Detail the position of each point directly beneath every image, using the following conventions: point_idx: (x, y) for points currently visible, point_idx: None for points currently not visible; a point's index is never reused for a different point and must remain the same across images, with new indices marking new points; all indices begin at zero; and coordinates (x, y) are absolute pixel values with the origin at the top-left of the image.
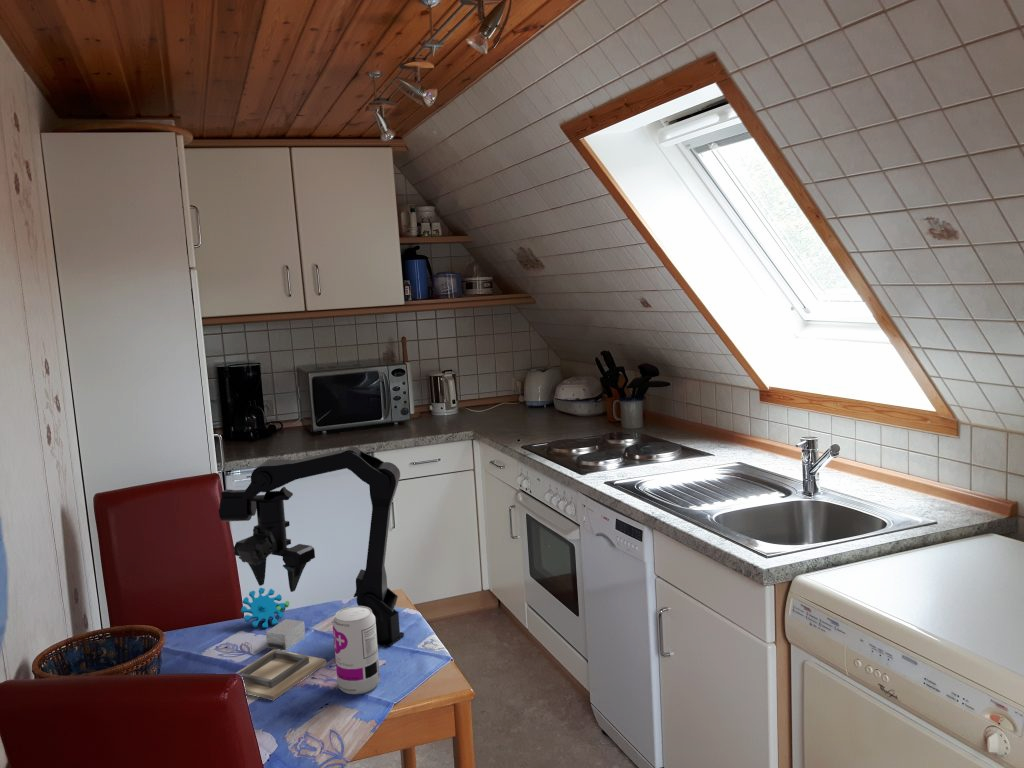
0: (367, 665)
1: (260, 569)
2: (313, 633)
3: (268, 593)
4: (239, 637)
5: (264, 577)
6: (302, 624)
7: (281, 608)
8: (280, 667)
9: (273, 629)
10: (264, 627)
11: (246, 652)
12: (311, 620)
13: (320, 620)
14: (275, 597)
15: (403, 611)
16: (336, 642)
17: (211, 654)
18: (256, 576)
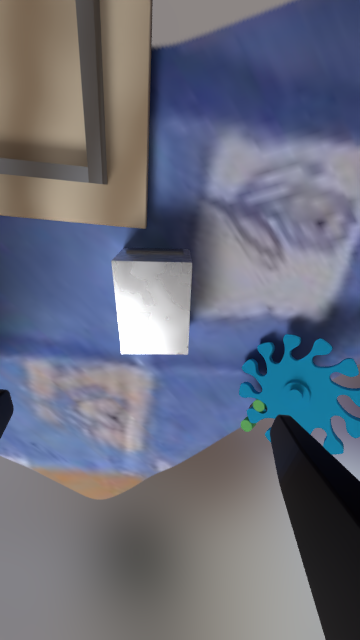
0: None
1: (336, 559)
2: None
3: None
4: (308, 286)
5: (280, 480)
6: (121, 343)
7: (253, 407)
8: (18, 99)
9: (178, 286)
10: (264, 343)
11: (237, 208)
12: (176, 396)
13: (156, 400)
14: None
15: (22, 458)
16: None
17: (348, 160)
18: (335, 475)
